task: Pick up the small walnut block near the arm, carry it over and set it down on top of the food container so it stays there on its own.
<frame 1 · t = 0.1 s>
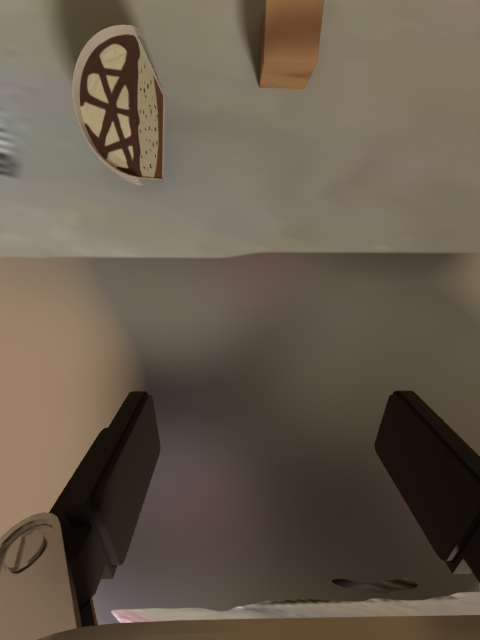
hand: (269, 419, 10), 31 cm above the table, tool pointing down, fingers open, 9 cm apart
food container: (140, 136, 32), on the table
walnut block: (283, 58, 29), on the table
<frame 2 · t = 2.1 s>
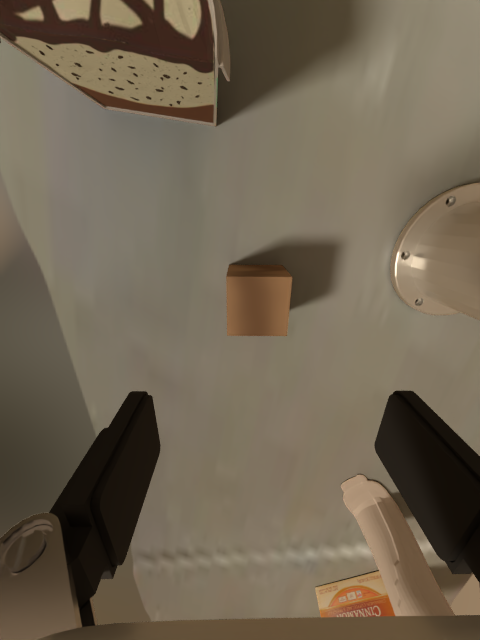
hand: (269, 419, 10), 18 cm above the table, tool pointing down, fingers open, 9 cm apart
food container: (161, 71, 19), on the table
walnut block: (254, 290, 26), on the table
coffeecake box: (352, 583, 52), on the table
candle: (367, 498, 41), on the table
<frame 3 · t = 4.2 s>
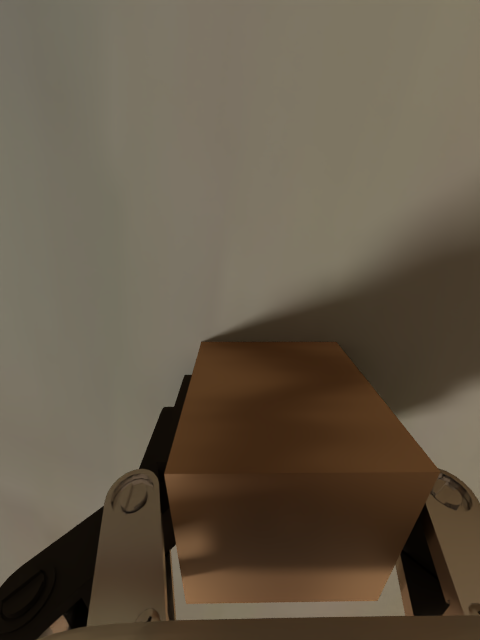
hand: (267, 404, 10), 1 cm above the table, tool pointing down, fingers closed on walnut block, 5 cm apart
walnut block: (265, 395, 11), on the table, touching gripper
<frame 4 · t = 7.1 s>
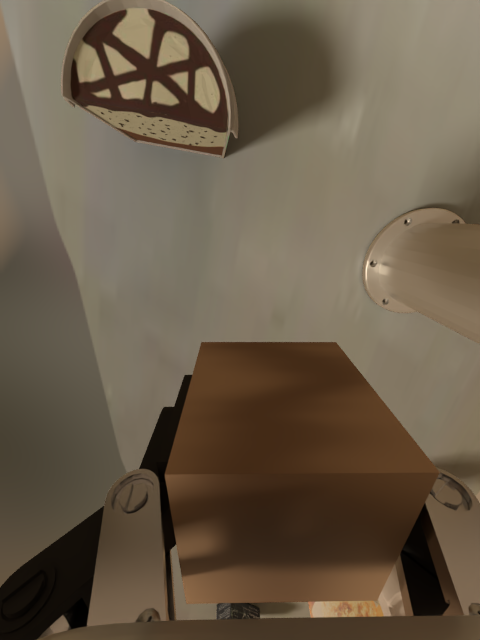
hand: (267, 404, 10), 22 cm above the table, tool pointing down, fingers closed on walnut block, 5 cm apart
food container: (182, 114, 25), on the table
walnut block: (265, 396, 11), point 22 cm above the table, touching gripper
coffeecake box: (333, 556, 58), on the table
candle: (346, 474, 46), on the table
box: (238, 604, 67), on the table
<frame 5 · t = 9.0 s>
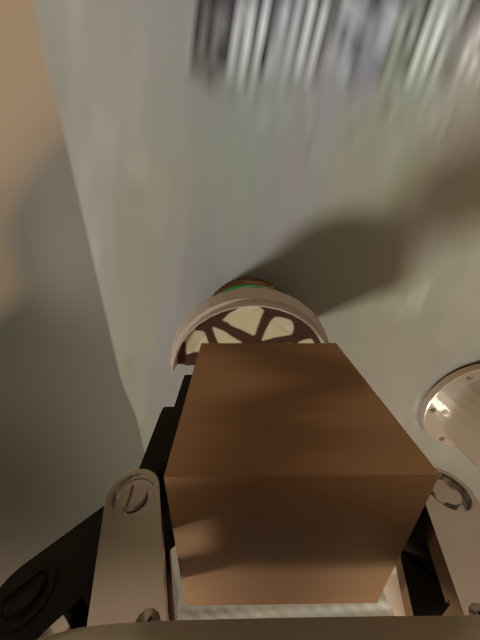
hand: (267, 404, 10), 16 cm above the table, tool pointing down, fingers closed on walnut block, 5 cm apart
food container: (251, 295, 25), on the table
walnut block: (265, 396, 11), point 15 cm above the table, touching gripper
candle: (389, 567, 46), on the table
when the fingers open (12 cm above the table, at t = 10.3 s): walnut block drops 1 cm, resting on food container.
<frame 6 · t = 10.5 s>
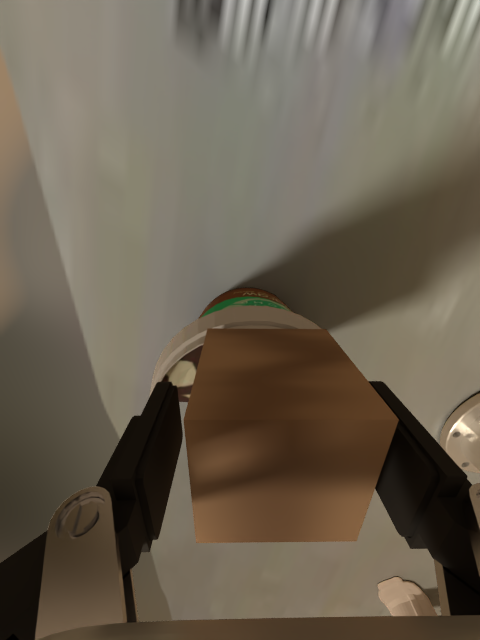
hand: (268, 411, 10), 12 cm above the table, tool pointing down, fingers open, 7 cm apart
food container: (250, 307, 22), on the table, touching walnut block
walnut block: (263, 377, 12), point 10 cm above the table, touching food container
candle: (400, 592, 43), on the table
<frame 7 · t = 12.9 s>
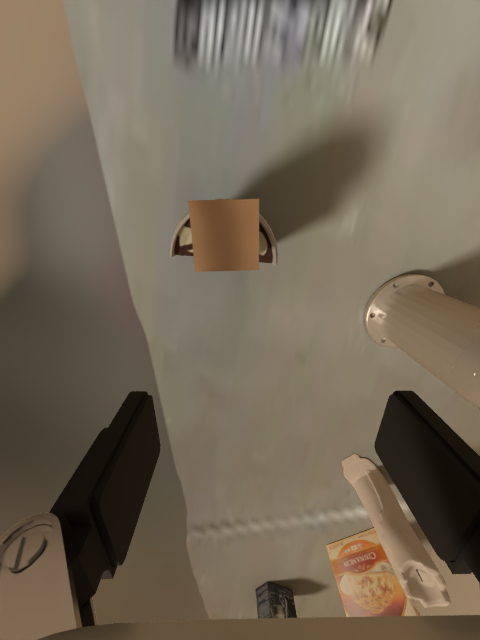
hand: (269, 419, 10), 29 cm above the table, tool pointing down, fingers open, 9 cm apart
food container: (227, 227, 34), on the table, touching walnut block
walnut block: (226, 232, 25), point 10 cm above the table, touching food container
coffeecake box: (354, 540, 68), on the table
candle: (360, 471, 56), on the table
box: (273, 588, 77), on the table
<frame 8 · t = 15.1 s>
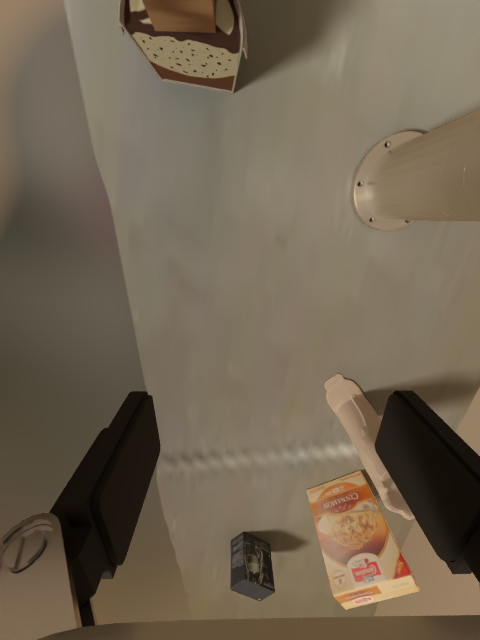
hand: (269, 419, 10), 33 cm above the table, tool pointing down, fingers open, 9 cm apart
food container: (199, 56, 30), on the table, touching walnut block
coffeecake box: (336, 486, 63), on the table
candle: (345, 398, 52), on the table
box: (250, 541, 73), on the table
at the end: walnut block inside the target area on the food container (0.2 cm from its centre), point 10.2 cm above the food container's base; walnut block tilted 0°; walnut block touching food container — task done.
